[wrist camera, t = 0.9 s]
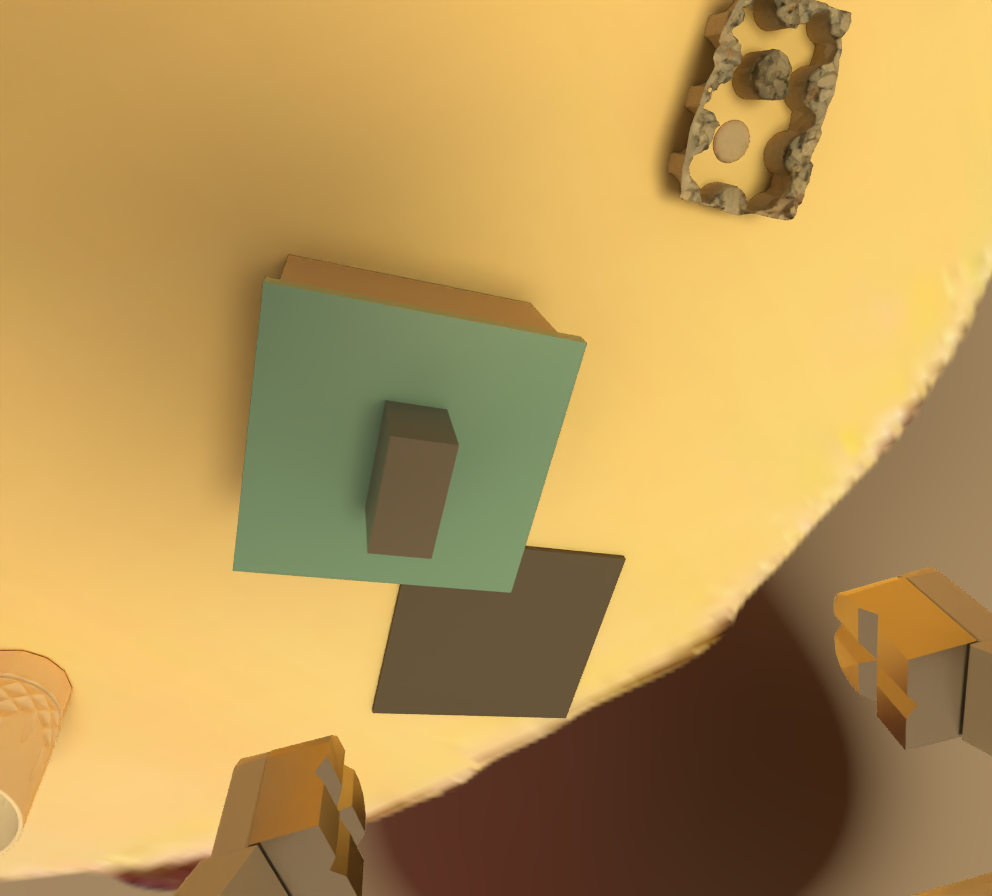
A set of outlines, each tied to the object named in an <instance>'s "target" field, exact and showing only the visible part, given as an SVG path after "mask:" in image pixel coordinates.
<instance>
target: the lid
mask: <svg viewBox="0 0 992 896" xmlns="http://www.w3.org/2000/svg"><path fill="white" fill-rule="evenodd" d="M586 345H587V343H586V342H585V341H584V340H583V339H582V338H581V337H579V336H574V335H568V334H563V333H558V332H553V331H547V330H542V329H537V328H532V327H527V326H521V325H516V324H511V323H506V322H500V321H495V320H490V319H485V318H480V317H474V316H469V315H464V314H459V313H453V312H448V311H443V310H438V309H433V308H427V307H422V306H417V305H412V304H406V303H401V302H396V301H391V300H386V299H380V298H375V297H370V296H365V295H359V294H354V293H349V292H344V291H339V290H333V289H328V288H323V287H318V286H313V285H307V284H302V283H297V282H292V281H286V280H281V279H276V278H271V277H265V279H264V281H263V290H262V299H261V309H260V318H259V327H258V337H257V346H256V356H255V365H254V375H253V384H252V393H251V403H250V412H249V422H248V431H247V441H246V450H245V459H244V469H243V478H242V488H241V497H240V507H239V516H238V525H237V535H236V544H235V554H234V563H233V571H242V572H254V573H267V574H280V575H292V576H305V577H318V578H330V579H343V580H356V581H368V582H381V583H394V584H406V585H419V586H432V587H444V588H457V589H470V590H482V591H495V592H508V593H511V591H512V588H513V585H514V581H515V578H516V575H517V572H518V568H519V565H520V562H521V558H522V555H523V552H524V549H525V545H526V542H527V539H528V535H529V532H530V529H531V526H532V522H533V519H534V516H535V512H536V509H537V506H538V503H539V499H540V496H541V493H542V489H543V486H544V483H545V480H546V476H547V473H548V470H549V466H550V463H551V460H552V457H553V453H554V450H555V447H556V443H557V440H558V437H559V434H560V430H561V427H562V424H563V420H564V417H565V414H566V411H567V407H568V404H569V401H570V397H571V394H572V391H573V388H574V384H575V381H576V378H577V374H578V371H579V368H580V365H581V361H582V358H583V355H584V351H585V348H586Z"/></svg>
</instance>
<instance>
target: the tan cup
mask: <svg viewBox="0 0 992 896" xmlns="http://www.w3.org/2000/svg"><path fill="white" fill-rule="evenodd" d="M71 690H72V688H71V685H70V683H69V681H68V679H67V677H66V674H65V672H64V671H63V670H62V669H60V668H59V667H58V666H56V665H55V664H54V663H52V662H51V661H50V660H49V659H47V658H44V657H41V656H38V655H35V654H32V653H28V652H25V651H0V856H1V855H3V854H4V853H6V852H7V851H8V850H9V849H11V848H12V847H13V846H14V845H15V843H16V842H17V841H18V839H19V837H20V836H21V833H22V831H23V828H24V825H25V823H26V820H27V817H28V815H29V812H30V809H31V807H32V804H33V802H34V799H35V796H36V794H37V791H38V789H39V786H40V783H41V781H42V778H43V776H44V773H45V771H46V768H47V765H48V763H49V760H50V757H51V755H52V752H53V749H54V745H55V742H56V740H57V737H58V734H59V731H60V724H61V721H62V719H63V717H64V714H65V712H66V709H67V706H68V703H69V698H70V694H71Z"/></svg>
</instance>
